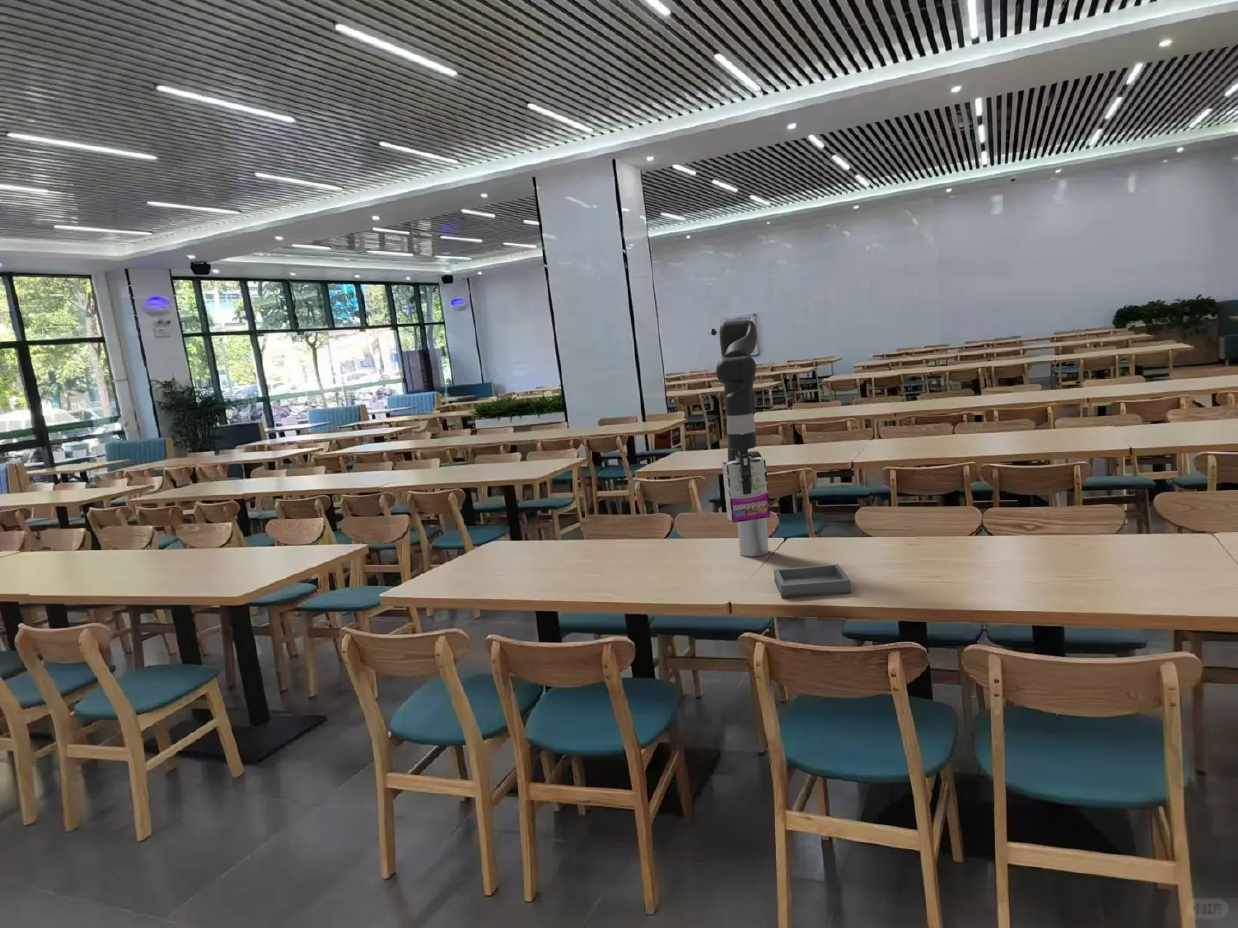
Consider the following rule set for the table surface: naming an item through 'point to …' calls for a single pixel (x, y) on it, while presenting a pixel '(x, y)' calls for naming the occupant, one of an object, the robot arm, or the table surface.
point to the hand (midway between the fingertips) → (746, 491)
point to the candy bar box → (749, 504)
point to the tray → (812, 581)
